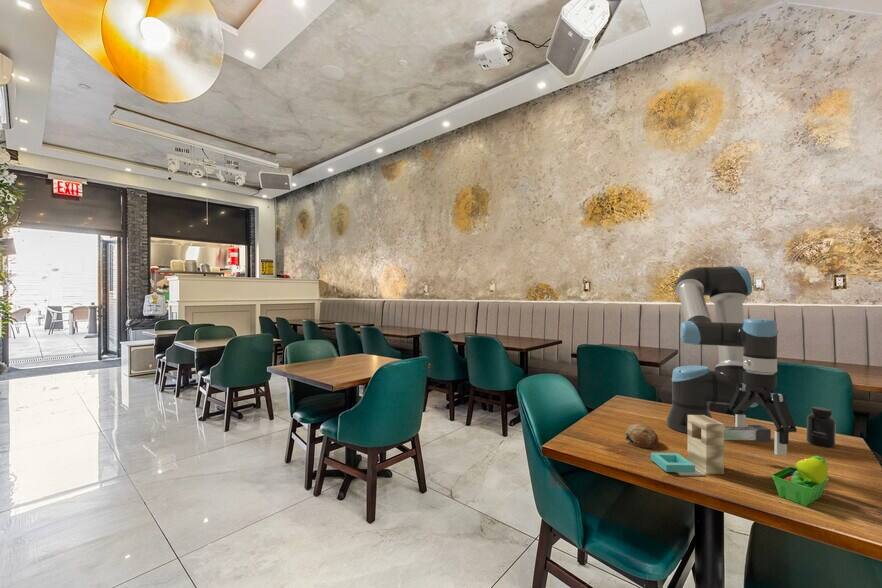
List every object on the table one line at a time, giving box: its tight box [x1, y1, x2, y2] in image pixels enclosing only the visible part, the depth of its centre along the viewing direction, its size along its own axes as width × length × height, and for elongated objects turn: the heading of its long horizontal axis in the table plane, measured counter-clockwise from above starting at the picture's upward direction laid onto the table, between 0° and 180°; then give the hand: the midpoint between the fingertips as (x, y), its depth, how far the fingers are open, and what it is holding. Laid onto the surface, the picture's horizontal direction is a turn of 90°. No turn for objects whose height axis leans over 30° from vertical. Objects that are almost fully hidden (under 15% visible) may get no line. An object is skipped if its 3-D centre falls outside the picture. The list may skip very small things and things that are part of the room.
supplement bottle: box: [806, 406, 837, 448], centre depth 126 cm, size 7×7×12 cm
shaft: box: [724, 424, 772, 443], centre depth 108 cm, size 17×4×4 cm, turn 90°
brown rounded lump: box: [624, 423, 659, 449], centre depth 127 cm, size 10×10×8 cm
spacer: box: [650, 452, 696, 473], centre depth 108 cm, size 8×2×8 cm
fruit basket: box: [771, 455, 830, 507], centre depth 92 cm, size 11×9×11 cm
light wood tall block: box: [686, 415, 725, 475], centre depth 108 cm, size 5×8×14 cm, turn 0°
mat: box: [669, 462, 706, 477], centre depth 108 cm, size 10×7×1 cm
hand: (759, 444), depth 108 cm, fingers open, 13 cm apart
